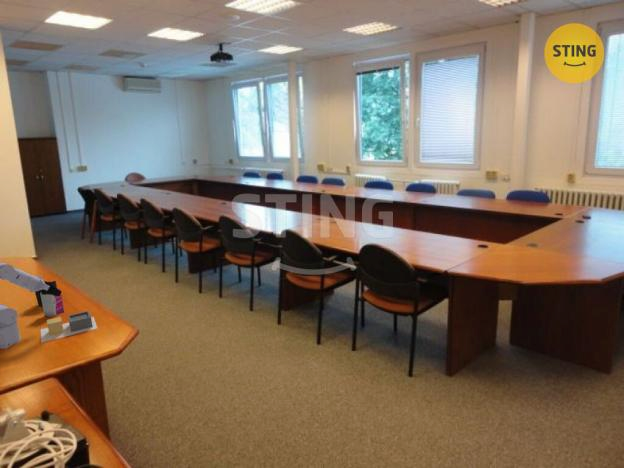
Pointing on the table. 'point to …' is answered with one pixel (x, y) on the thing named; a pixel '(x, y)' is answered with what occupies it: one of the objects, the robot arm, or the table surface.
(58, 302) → the supplement box
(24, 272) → the robot arm
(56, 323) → the ochre block
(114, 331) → the table surface
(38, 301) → the pen holder
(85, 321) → the charcoal base block
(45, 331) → the build board
